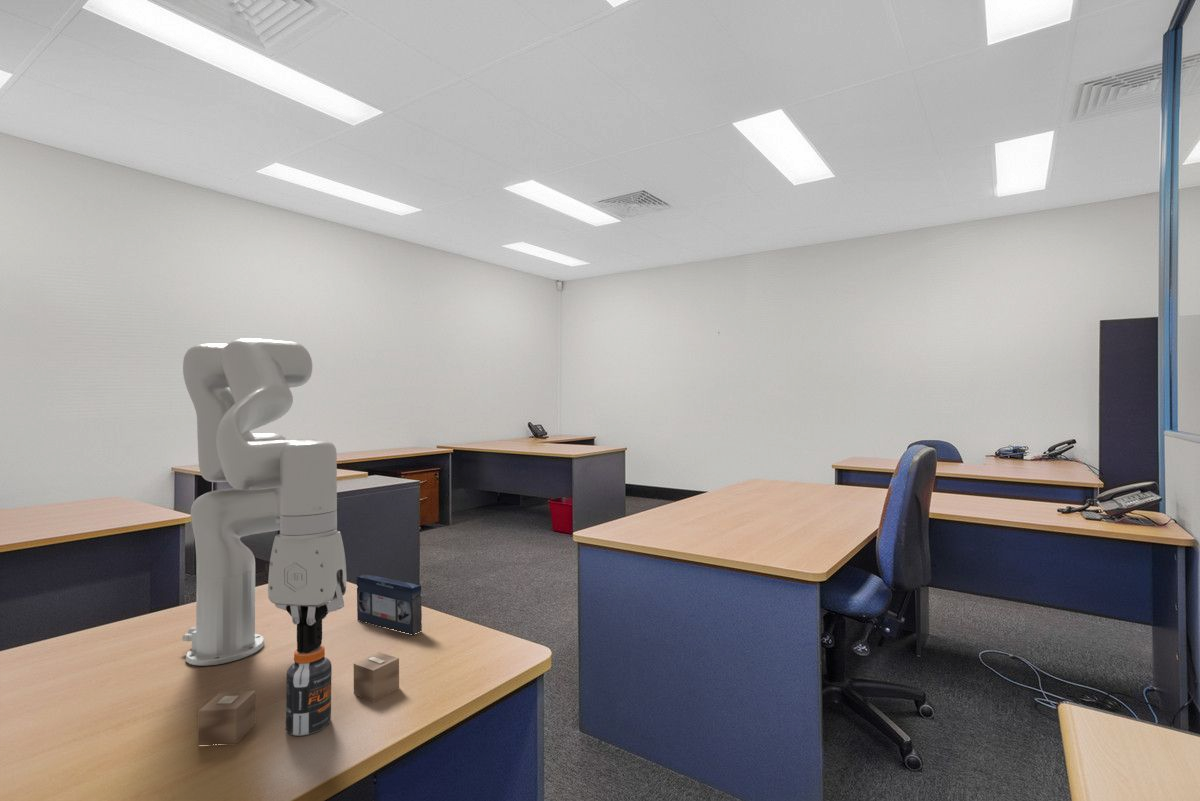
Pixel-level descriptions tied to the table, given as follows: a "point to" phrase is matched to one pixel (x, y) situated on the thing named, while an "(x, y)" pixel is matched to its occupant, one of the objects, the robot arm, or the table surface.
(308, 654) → the pill bottle
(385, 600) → the vhs cassette tape
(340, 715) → the table surface
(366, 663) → the marked cube two
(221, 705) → the marked cube one
